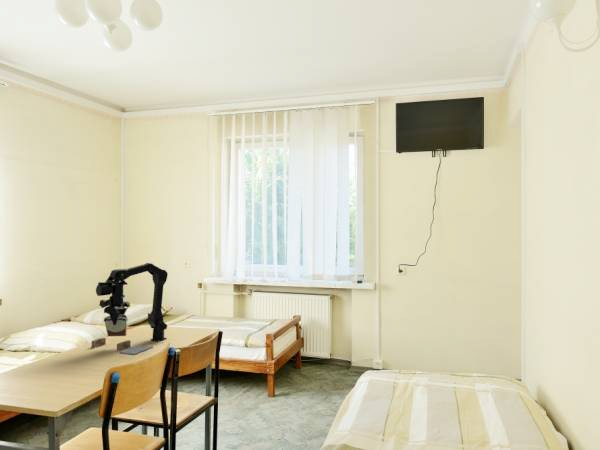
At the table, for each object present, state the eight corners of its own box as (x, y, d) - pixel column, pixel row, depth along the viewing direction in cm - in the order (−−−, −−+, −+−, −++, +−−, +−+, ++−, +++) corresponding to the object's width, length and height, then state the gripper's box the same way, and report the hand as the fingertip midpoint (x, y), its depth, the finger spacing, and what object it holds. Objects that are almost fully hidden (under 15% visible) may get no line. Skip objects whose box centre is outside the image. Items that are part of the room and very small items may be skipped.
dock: (102, 344, 246) (102, 337, 246) (130, 347, 240) (130, 340, 240) (91, 347, 238) (91, 340, 238) (120, 350, 233) (120, 344, 233)
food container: (133, 331, 243) (131, 313, 241) (128, 336, 237) (126, 317, 235) (110, 331, 243) (108, 314, 241) (105, 336, 237) (103, 318, 235)
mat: (138, 346, 243) (138, 344, 243) (153, 347, 240) (153, 346, 240) (119, 353, 229) (119, 352, 229) (134, 354, 226) (134, 353, 226)
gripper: (110, 291, 248) (109, 319, 248) (93, 296, 229) (93, 327, 229) (130, 291, 248) (130, 320, 248) (115, 296, 229) (115, 327, 229)
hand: (117, 323), depth 238 cm, fingers closed on food container, 6 cm apart
